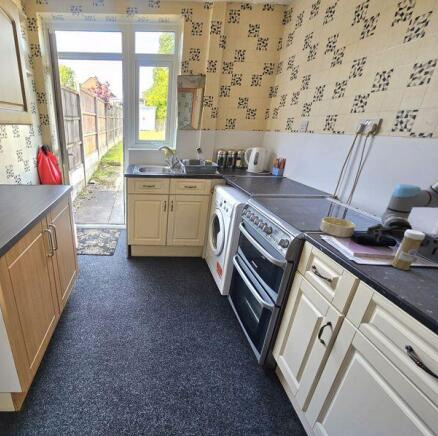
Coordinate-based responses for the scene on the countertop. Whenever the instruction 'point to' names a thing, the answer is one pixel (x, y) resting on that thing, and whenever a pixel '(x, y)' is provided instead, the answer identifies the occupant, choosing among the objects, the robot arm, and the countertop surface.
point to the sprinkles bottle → (408, 249)
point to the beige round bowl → (337, 227)
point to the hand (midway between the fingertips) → (406, 245)
